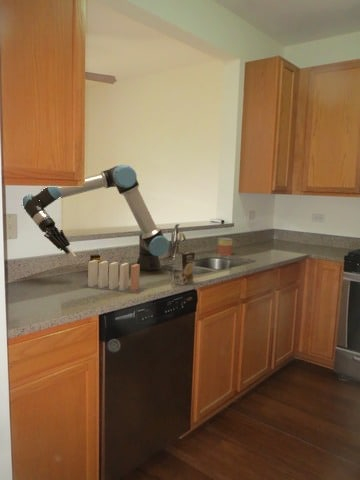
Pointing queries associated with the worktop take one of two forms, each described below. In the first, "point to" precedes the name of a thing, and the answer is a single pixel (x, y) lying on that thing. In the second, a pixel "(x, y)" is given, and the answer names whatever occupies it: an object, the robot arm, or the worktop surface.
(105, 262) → the domino
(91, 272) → the domino
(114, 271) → the domino
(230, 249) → the canned food
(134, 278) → the domino
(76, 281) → the worktop surface
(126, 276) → the domino
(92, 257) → the condiment
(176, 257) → the coffee box
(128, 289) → the mat
